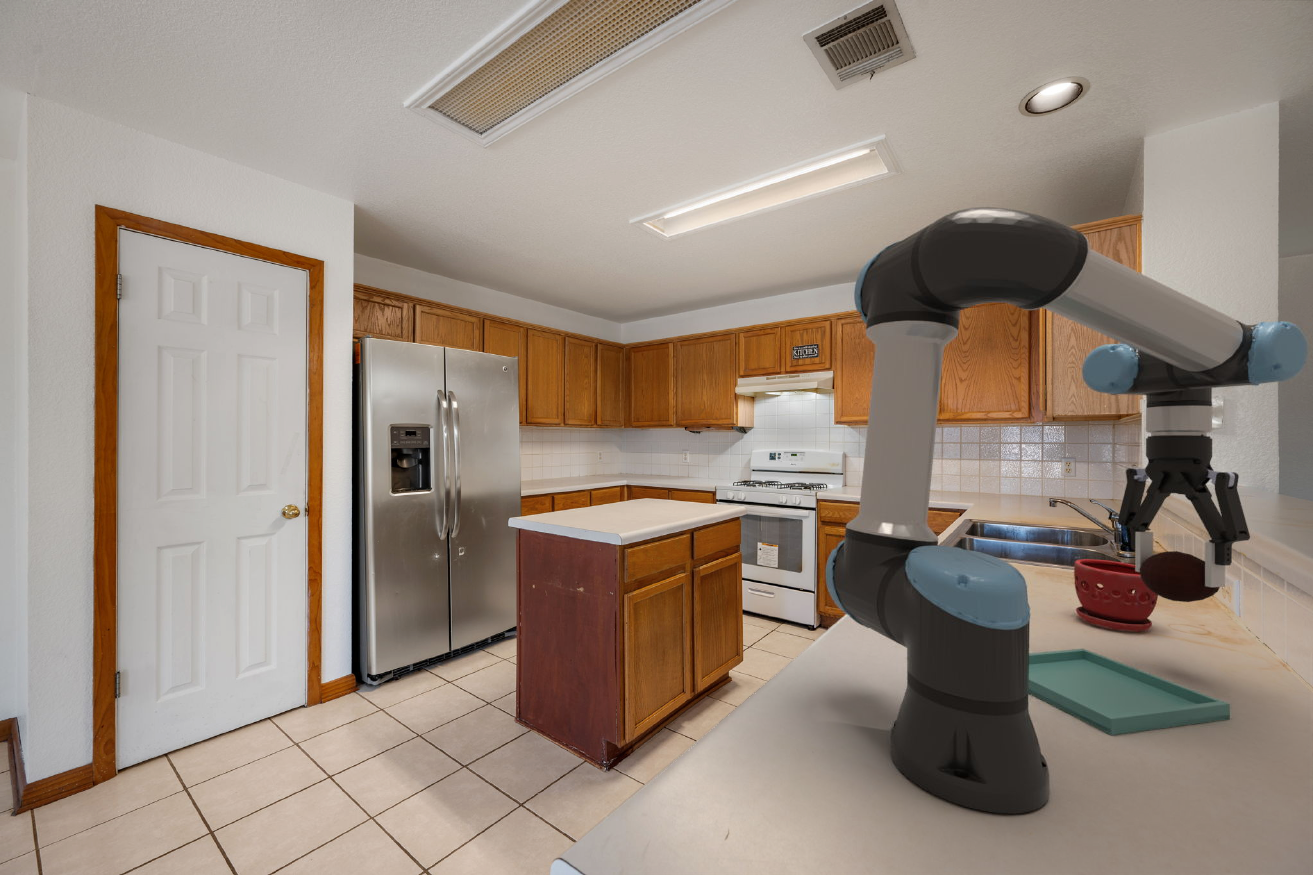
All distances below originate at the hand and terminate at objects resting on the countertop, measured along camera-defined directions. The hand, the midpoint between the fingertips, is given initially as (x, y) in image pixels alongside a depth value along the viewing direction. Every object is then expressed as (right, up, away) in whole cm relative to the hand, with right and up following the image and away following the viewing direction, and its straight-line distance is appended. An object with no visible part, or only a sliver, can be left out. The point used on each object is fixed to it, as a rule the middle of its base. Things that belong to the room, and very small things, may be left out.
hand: (1177, 578), depth 85 cm
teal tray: (-18, -15, -6) cm, 24 cm away
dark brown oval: (0, -4, 0) cm, 4 cm away
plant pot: (+10, -16, +24) cm, 30 cm away
